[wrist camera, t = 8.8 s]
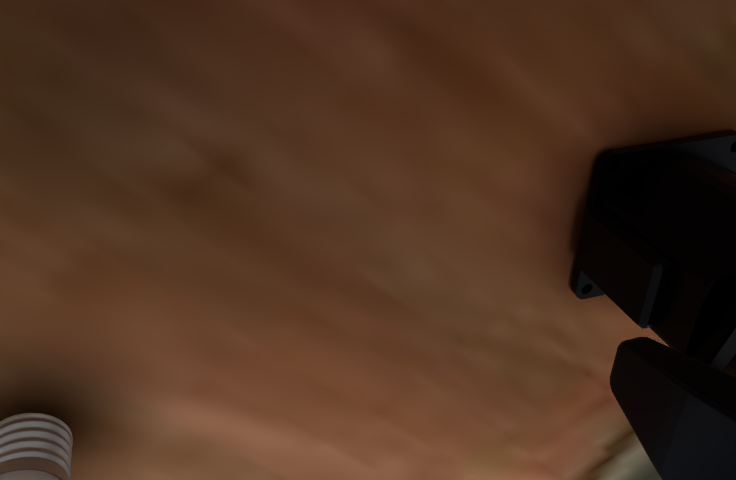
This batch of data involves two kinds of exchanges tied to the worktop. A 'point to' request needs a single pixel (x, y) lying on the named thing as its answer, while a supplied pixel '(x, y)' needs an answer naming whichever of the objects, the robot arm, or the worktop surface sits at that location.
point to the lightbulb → (35, 448)
